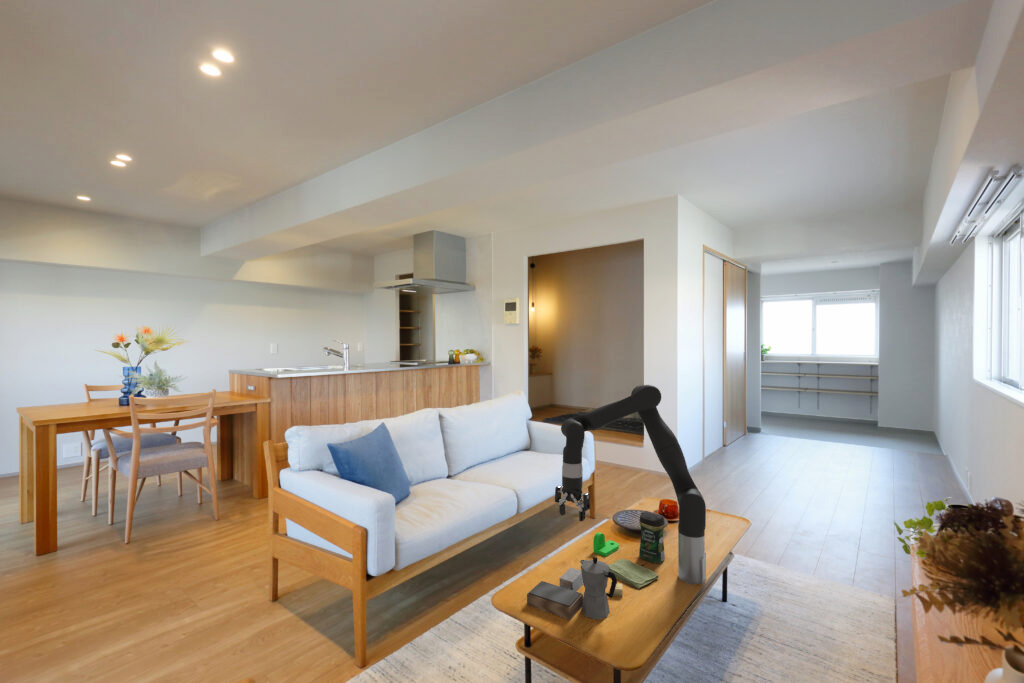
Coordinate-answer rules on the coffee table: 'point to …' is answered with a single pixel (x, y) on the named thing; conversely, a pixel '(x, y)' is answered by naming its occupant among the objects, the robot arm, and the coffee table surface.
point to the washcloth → (632, 573)
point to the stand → (555, 600)
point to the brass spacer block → (618, 590)
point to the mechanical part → (604, 545)
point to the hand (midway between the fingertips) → (572, 517)
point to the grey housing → (572, 579)
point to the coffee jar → (652, 537)
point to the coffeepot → (596, 588)
